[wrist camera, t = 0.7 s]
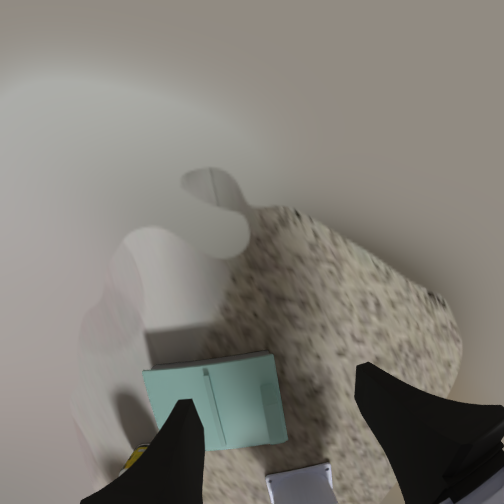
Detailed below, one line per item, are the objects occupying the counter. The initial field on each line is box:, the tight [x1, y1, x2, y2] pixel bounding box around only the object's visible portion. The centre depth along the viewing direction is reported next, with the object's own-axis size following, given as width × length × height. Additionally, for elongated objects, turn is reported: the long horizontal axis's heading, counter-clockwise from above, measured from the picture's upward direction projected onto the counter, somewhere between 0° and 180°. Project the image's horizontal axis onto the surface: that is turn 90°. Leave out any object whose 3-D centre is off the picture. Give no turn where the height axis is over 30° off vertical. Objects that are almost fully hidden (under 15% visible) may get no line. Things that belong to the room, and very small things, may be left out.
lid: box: [142, 354, 288, 451], centre depth 22 cm, size 10×13×5 cm
